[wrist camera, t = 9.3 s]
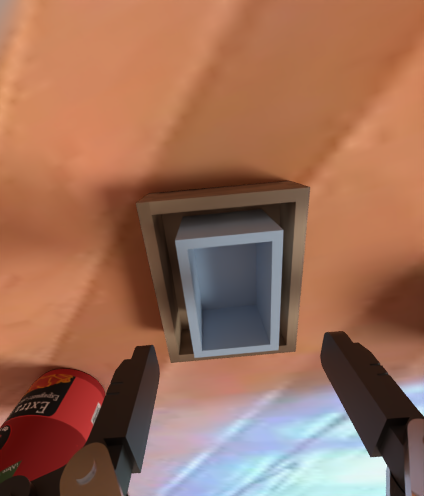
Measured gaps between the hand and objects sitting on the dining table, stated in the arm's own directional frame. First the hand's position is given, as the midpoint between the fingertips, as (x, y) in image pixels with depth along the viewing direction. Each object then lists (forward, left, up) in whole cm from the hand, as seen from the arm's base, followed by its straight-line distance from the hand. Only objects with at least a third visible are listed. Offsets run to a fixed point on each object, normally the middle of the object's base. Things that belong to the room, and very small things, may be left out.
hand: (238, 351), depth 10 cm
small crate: (0, 0, -9) cm, 9 cm away
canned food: (+15, -18, -10) cm, 25 cm away
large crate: (+1, 0, -9) cm, 9 cm away
